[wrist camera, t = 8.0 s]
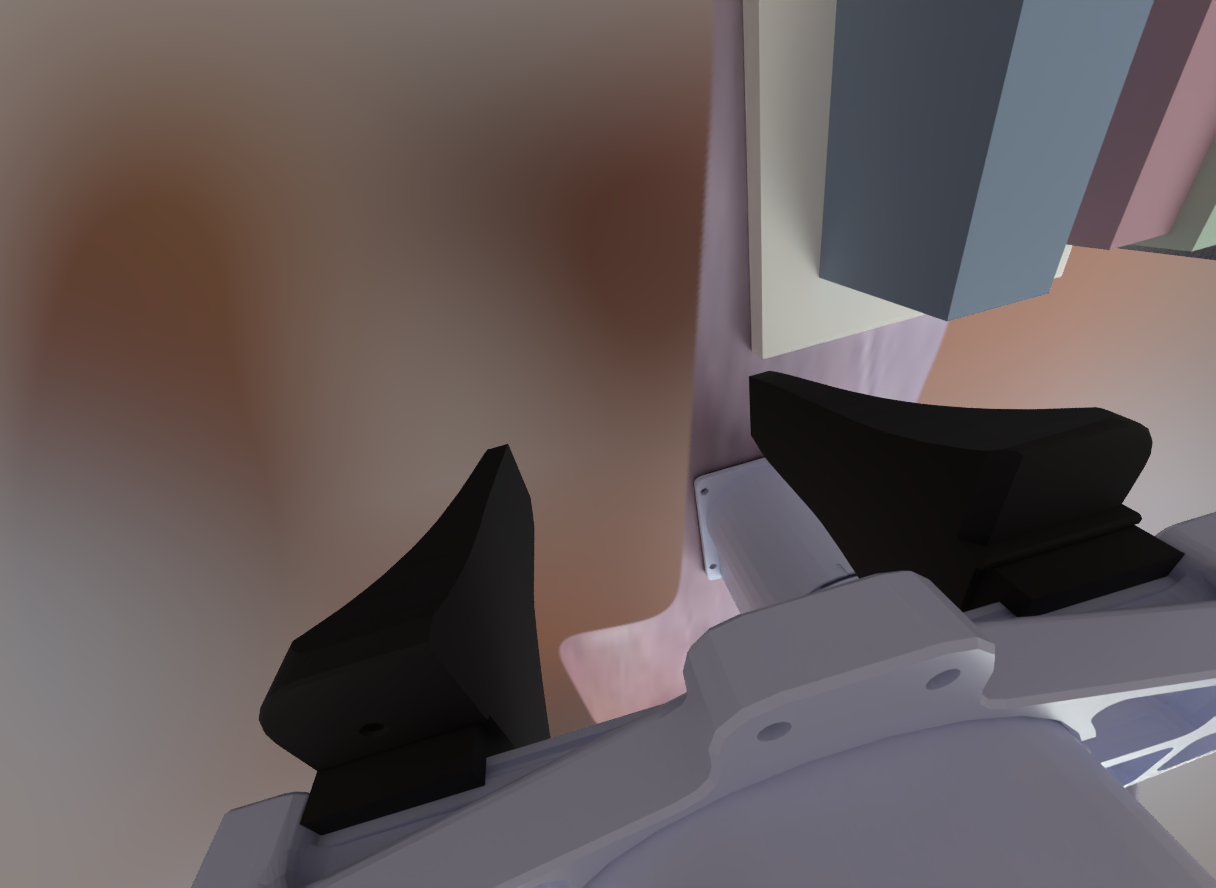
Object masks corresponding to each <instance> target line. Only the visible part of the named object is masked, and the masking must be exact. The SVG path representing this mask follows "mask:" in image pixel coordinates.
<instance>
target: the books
mask: <svg viewBox="0 0 1216 888" xmlns="http://www.w3.org/2000/svg"><path fill="white" fill-rule="evenodd" d="M1066 245H1074V246H1082V247H1090V248H1098V249H1106V250H1111V249H1114V248H1118V247H1122V246H1125V245H1138V246H1147V247H1156V248H1164V249H1173V250H1182V251H1191V252H1192V251H1195V250H1199V249H1203V248H1206V247H1210V246H1213V245H1216V0H1154V2H1153V5H1152V7H1151V10H1150V13H1149V16H1148V18H1147V21H1146V24H1145V27H1144V30H1143V32H1142V35H1141V38H1140V41H1139V43H1138V46H1137V49H1136V52H1135V54H1134V57H1133V60H1132V63H1131V66H1130V68H1129V71H1128V74H1127V77H1126V79H1125V82H1124V85H1123V88H1122V91H1121V93H1120V96H1119V99H1118V102H1117V104H1116V107H1115V110H1114V113H1113V116H1112V118H1111V121H1110V124H1109V127H1108V129H1107V132H1106V135H1105V138H1104V141H1103V143H1102V146H1101V149H1100V152H1099V154H1098V157H1097V160H1096V163H1095V166H1094V168H1093V171H1092V174H1091V177H1090V179H1089V182H1088V185H1087V188H1086V191H1085V193H1084V196H1083V199H1082V202H1081V204H1080V207H1079V210H1078V213H1077V215H1076V218H1075V221H1074V224H1073V227H1072V229H1071V232H1070V235H1069V238H1068V240H1067V243H1066Z"/></svg>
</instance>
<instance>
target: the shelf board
mask: <svg viewBox="0 0 1216 888" xmlns="http://www.w3.org/2000/svg"><path fill="white" fill-rule="evenodd" d="M836 5H837V0H743V34H744V72H745V111H746V150H747V189H748V227H749V266H750V305H751V344H752V352H753V353H755V354H756V355H757V356H759V357H760V358H761V359H767V358H770V357H774V356H778V355H781V354H785V353H788V352H792V351H795V350H799V349H803V348H806V347H810V346H813V345H817V344H821V343H824V342H828V341H831V340H835V339H839V338H842V337H846V336H849V335H853V334H856V333H860V332H864V331H867V330H871V329H874V328H878V327H882V326H885V325H889V324H892V323H896V322H900V321H903V320H907V319H910V318H914V317H917V316H921V315H925V314H924V313H921V312H918V311H916V310H913V309H910V308H907V307H904V306H901V305H898V304H895V303H892V302H889V301H886V300H883V299H880V298H877V297H874V296H871V295H869V294H866V293H863V292H860V291H857V290H854V289H851V288H848V287H845V286H842V285H839V284H836V283H833V282H830V281H827V280H824V279H822V278H819V268H820V253H821V238H822V222H823V207H824V191H825V176H826V160H827V145H828V129H829V114H830V98H831V83H832V67H833V52H834V36H835V21H836ZM1072 246H1073V245H1066V246H1065V249H1064V252H1063V254H1062V257H1061V260H1060V263H1059V265H1058V268H1057V271H1056V274H1055V277H1054V278H1057V277H1061V276H1062V273H1063V270H1064V268H1065V265H1066V262H1067V260H1068V257H1069V254H1070V251H1071V249H1072Z"/></svg>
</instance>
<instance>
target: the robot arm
mask: <svg viewBox="0 0 1216 888" xmlns="http://www.w3.org/2000/svg"><path fill="white" fill-rule="evenodd" d="M749 391H750V424H751V436H752V437H753V439H754V441H755V442H756V444H757V446H758V447H759V449H760V450H761V452H762V453H763V455H764V456H765V458H762V459H758V460H755V461H751V462H748V463H744V464H741V465H737V466H734V467H730V468H727V469H723V470H720V471H716V472H713V473H709V474H706V475H702V476H700V477H698V478H697V479H696V480H695V481H694V488H695V496H696V504H697V511H698V519H699V527H700V534H701V542H702V550H703V557H704V565H705V573H706V576H707V578H708V579H709V580H715V579H719V578H723V580H724V582H725V584H726V586H727V588H728V590H729V592H730V594H731V596H732V598H733V600H734V602H735V604H736V606H737V608H738V609H739V611H740V613H741V614H740V615H737V616H735V617H733V618H730V619H728V620H726V621H724V622H722V623H720V624H718V625H716V626H713V627H711V628H709V629H708V630H707V631H706V632H705V633H704V634H703V635H702V636H701V637H700V638H699V639H698V640H697V641H696V642H695V643H694V644H693V645H692V646H691V647H690V649H689V651H688V652H687V657H686V661H685V665H684V669H683V675H684V680H685V684H686V689H687V692H686V693H684V694H682V695H680V696H678V697H676V698H674V699H672V700H670V701H669V702H667V703H665V704H661V705H658V706H655V707H651V708H648V709H645V710H642V711H638V712H635V713H632V714H628V715H625V716H622V717H619V718H615V719H612V720H609V721H605V722H602V723H599V724H596V725H592V726H589V727H586V728H582V729H580V730H576V731H573V732H570V733H566V734H563V735H559V736H557V737H553V738H550V732H549V725H548V719H547V712H546V705H545V697H544V690H543V682H542V674H541V666H540V657H539V649H538V640H537V631H536V620H535V610H534V521H533V512H532V505H531V498H530V495H529V493H528V491H527V488H526V486H525V483H524V481H523V479H522V476H521V474H520V471H519V469H518V466H517V464H516V462H515V459H514V457H513V455H512V452H511V450H510V447H509V445H508V444H506V445H503V446H499V447H495V448H492V449H488V450H487V451H486V452H485V454H484V455H483V457H482V458H481V460H480V461H479V463H478V465H477V466H476V467H475V469H474V471H473V472H472V474H471V475H470V477H469V478H468V480H467V481H466V483H465V484H464V486H463V487H462V489H461V490H460V492H459V493H458V494H457V496H456V497H455V498H454V500H453V501H452V502H451V503H450V505H449V506H448V507H447V509H446V510H445V512H444V513H443V514H442V515H441V517H440V518H439V519H438V520H437V522H436V523H435V524H434V525H433V526H432V527H431V528H430V530H429V531H428V532H427V533H426V534H425V535H424V536H423V537H422V538H421V539H420V540H419V542H418V543H417V544H416V545H415V546H414V547H413V548H412V549H411V550H410V551H409V552H408V553H406V554H405V555H404V556H403V557H402V558H401V559H400V560H399V561H398V562H397V563H396V564H395V565H394V566H392V567H391V568H390V569H389V570H388V571H387V572H386V573H385V574H384V575H383V576H382V577H380V578H379V579H378V580H377V581H375V582H374V583H373V584H372V585H370V586H369V587H368V588H367V589H366V590H364V591H363V592H362V593H360V594H359V595H358V596H357V597H355V598H354V599H353V600H351V601H350V602H349V603H347V604H346V605H345V606H343V607H342V608H341V609H339V610H338V611H337V612H335V613H334V614H332V615H331V616H329V617H328V618H326V619H325V620H323V621H322V622H321V623H319V624H318V625H316V626H315V627H313V628H312V629H310V630H309V631H307V632H306V633H305V634H303V635H301V636H300V637H298V638H297V639H295V640H294V641H293V642H292V644H291V646H290V648H289V650H288V652H287V654H286V656H285V658H284V660H283V662H282V664H281V666H280V668H279V670H278V672H277V675H276V677H275V679H274V681H273V683H272V685H271V687H270V689H269V691H268V693H267V695H266V697H265V699H264V701H263V704H262V706H261V708H260V714H259V721H260V724H261V726H262V728H263V730H264V732H265V734H266V735H267V736H268V737H269V738H270V739H272V740H273V741H274V742H275V743H276V744H277V745H279V746H280V747H282V748H283V749H285V750H287V751H288V752H289V753H291V754H292V755H294V756H295V757H297V758H299V759H300V760H301V761H303V762H305V763H306V764H308V765H309V766H311V767H312V768H313V769H315V770H317V774H316V777H315V780H314V783H313V786H312V789H311V792H310V793H308V792H290V793H285V794H281V795H278V796H275V797H271V798H268V799H265V800H261V801H258V802H255V803H251V804H248V805H245V806H241V807H238V808H235V809H232V810H230V811H229V812H227V813H226V814H224V816H223V819H222V821H221V823H220V825H219V827H218V830H217V832H216V834H215V836H214V839H213V841H212V843H211V845H210V847H209V849H208V851H207V854H206V856H205V858H204V860H203V862H202V864H201V867H200V869H199V871H198V873H197V875H196V878H195V880H194V882H193V884H192V886H191V888H1216V880H1215V879H1214V878H1213V877H1212V876H1211V875H1210V874H1209V873H1208V872H1207V871H1206V870H1205V869H1204V868H1203V867H1202V866H1201V865H1200V864H1199V863H1198V861H1197V860H1196V859H1195V858H1194V857H1193V856H1191V854H1189V852H1187V850H1186V849H1185V848H1184V847H1183V846H1182V845H1181V844H1180V843H1179V842H1178V841H1177V840H1176V839H1175V838H1174V837H1173V836H1172V835H1171V834H1170V833H1169V832H1168V831H1167V830H1166V829H1165V828H1164V827H1163V826H1162V825H1161V824H1160V823H1159V822H1158V821H1157V820H1156V819H1155V818H1154V817H1153V816H1152V815H1151V814H1150V813H1149V812H1148V811H1147V810H1146V809H1145V808H1144V807H1143V806H1142V805H1141V804H1140V803H1139V802H1138V785H1137V783H1138V782H1140V781H1143V780H1145V779H1148V778H1150V777H1153V776H1156V775H1158V774H1161V773H1163V772H1166V771H1168V770H1171V769H1173V768H1176V767H1178V766H1181V765H1183V764H1186V763H1188V762H1191V761H1193V760H1196V759H1199V758H1201V757H1204V756H1206V755H1209V754H1212V753H1214V752H1216V512H1214V513H1210V514H1207V515H1204V516H1201V517H1197V518H1194V519H1191V520H1187V521H1184V522H1181V523H1177V524H1175V525H1172V526H1170V527H1167V528H1165V529H1164V530H1162V531H1161V532H1160V533H1158V534H1157V535H1156V536H1153V535H1151V534H1149V533H1147V532H1145V531H1144V530H1142V529H1140V528H1139V527H1137V526H1135V524H1138V523H1139V522H1140V521H1141V520H1142V517H1141V515H1140V514H1139V513H1137V512H1136V511H1134V510H1132V509H1130V508H1128V507H1126V506H1125V505H1123V504H1122V502H1123V501H1124V499H1125V497H1126V496H1127V495H1128V493H1129V491H1130V490H1131V488H1132V486H1133V485H1134V483H1135V482H1136V480H1137V478H1138V476H1139V475H1140V473H1141V472H1142V470H1143V468H1144V467H1145V465H1146V463H1147V461H1148V459H1149V457H1150V454H1151V448H1152V438H1151V435H1150V432H1149V429H1148V428H1146V427H1145V426H1143V425H1142V424H1140V423H1138V422H1136V421H1133V420H1131V419H1128V418H1126V417H1123V416H1121V415H1118V414H1116V413H1113V412H1111V411H1108V410H1105V409H1102V408H1096V407H1093V408H1064V409H1063V408H1061V409H982V408H962V407H950V406H938V405H928V404H919V403H912V402H905V401H898V400H891V399H885V398H880V397H875V396H870V395H865V394H861V393H856V392H852V391H848V390H843V389H839V388H835V387H832V386H828V385H824V384H820V383H817V382H813V381H809V380H806V379H802V378H799V377H795V376H791V375H787V374H783V373H779V372H773V371H767V372H763V373H760V374H756V375H753V376H749ZM704 488H706V489H705V490H704V491H701V490H702V489H704Z"/></svg>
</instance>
